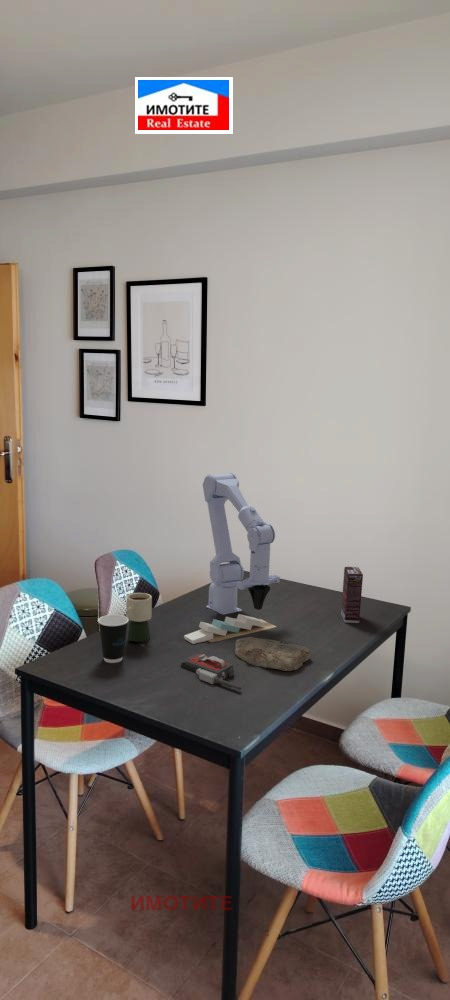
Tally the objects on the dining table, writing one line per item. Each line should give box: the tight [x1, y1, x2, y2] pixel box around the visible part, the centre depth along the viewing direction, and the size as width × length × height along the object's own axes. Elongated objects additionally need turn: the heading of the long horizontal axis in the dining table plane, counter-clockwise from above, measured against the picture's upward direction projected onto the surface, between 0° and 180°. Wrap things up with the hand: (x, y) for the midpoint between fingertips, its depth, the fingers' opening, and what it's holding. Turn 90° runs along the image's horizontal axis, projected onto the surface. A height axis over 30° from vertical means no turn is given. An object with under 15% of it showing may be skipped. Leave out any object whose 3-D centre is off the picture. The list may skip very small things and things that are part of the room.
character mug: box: [125, 592, 153, 643], centre depth 197 cm, size 11×7×13 cm, turn 154°
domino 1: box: [183, 628, 213, 645], centre depth 199 cm, size 2×4×7 cm
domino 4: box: [236, 613, 264, 627], centre depth 210 cm, size 2×4×7 cm
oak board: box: [207, 618, 277, 643], centre depth 207 cm, size 8×24×1 cm, turn 126°
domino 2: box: [198, 621, 227, 636], centre depth 202 cm, size 2×4×7 cm
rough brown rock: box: [234, 636, 312, 672], centre depth 189 cm, size 14×5×20 cm
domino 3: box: [223, 616, 252, 630], centre depth 207 cm, size 2×4×7 cm
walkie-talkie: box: [180, 653, 242, 691], centre depth 177 cm, size 9×4×20 cm
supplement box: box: [340, 566, 364, 624], centre depth 221 cm, size 9×5×16 cm, turn 179°
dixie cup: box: [97, 614, 130, 664], centre depth 184 cm, size 8×8×11 cm
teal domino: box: [211, 618, 240, 633], centre depth 205 cm, size 2×4×7 cm
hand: (257, 608), depth 211 cm, fingers closed
